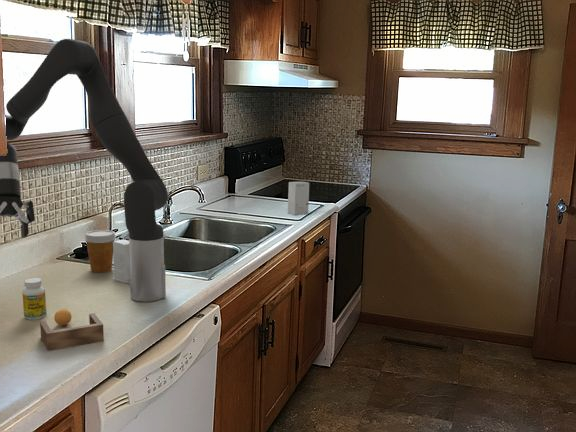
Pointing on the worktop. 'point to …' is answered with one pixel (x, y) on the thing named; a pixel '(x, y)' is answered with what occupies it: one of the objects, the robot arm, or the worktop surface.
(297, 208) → the skincare box
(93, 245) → the disposable coffee cup
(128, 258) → the skincare box
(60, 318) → the ball
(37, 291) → the supplement bottle
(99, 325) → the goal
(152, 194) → the robot arm
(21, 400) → the worktop surface
